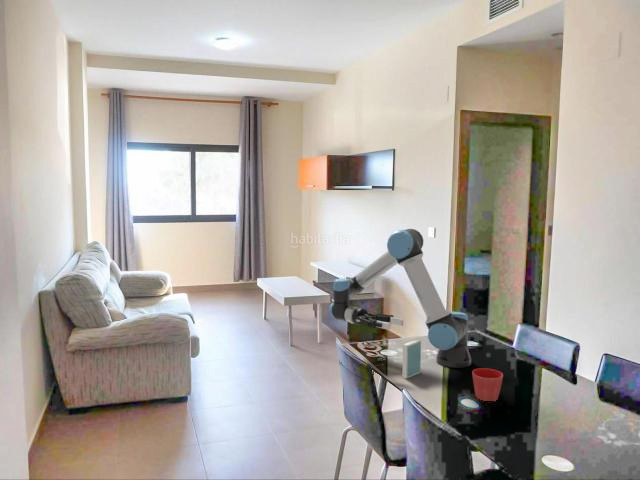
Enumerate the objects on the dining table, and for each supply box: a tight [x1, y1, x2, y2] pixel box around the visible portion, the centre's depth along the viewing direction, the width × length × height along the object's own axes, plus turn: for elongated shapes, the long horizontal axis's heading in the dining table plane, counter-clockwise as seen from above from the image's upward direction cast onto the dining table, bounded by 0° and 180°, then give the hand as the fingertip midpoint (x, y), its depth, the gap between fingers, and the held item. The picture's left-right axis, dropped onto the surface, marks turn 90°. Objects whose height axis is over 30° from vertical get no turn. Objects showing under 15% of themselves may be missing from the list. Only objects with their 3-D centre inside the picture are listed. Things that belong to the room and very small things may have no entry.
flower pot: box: [471, 367, 504, 402], centre depth 188 cm, size 11×11×10 cm
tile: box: [401, 339, 422, 380], centre depth 213 cm, size 10×2×14 cm, turn 134°
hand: (395, 324), depth 218 cm, fingers open, 9 cm apart
